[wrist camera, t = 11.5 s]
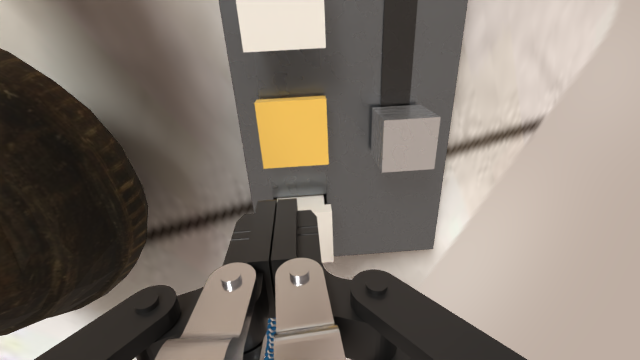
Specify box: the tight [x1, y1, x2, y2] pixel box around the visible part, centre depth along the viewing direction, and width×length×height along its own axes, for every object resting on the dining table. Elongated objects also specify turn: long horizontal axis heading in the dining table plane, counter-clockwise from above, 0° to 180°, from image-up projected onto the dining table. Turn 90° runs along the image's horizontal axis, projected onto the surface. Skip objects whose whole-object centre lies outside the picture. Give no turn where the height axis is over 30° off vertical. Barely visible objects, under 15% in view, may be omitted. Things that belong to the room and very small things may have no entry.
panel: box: [219, 0, 468, 256], centre depth 28 cm, size 18×28×4 cm, turn 3°
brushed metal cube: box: [371, 105, 441, 173], centre depth 24 cm, size 4×4×4 cm
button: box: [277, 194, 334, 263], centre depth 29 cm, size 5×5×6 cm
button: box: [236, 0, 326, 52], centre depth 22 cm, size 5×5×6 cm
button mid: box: [254, 96, 329, 169], centre depth 27 cm, size 5×5×6 cm
